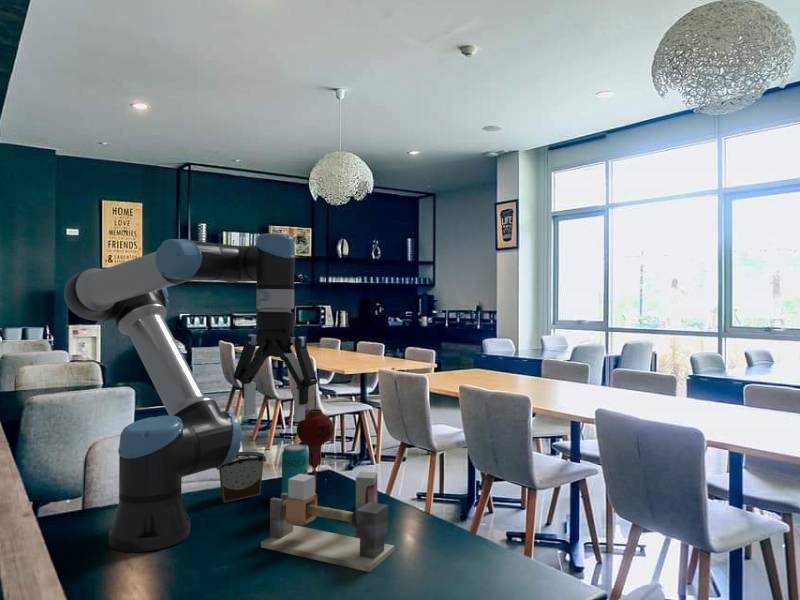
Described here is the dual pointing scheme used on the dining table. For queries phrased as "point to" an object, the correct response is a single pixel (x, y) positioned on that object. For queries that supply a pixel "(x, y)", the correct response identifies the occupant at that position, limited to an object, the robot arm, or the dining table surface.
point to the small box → (366, 488)
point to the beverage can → (293, 463)
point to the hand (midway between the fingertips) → (274, 417)
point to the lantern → (315, 435)
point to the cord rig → (332, 535)
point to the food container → (242, 476)
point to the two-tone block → (300, 499)
